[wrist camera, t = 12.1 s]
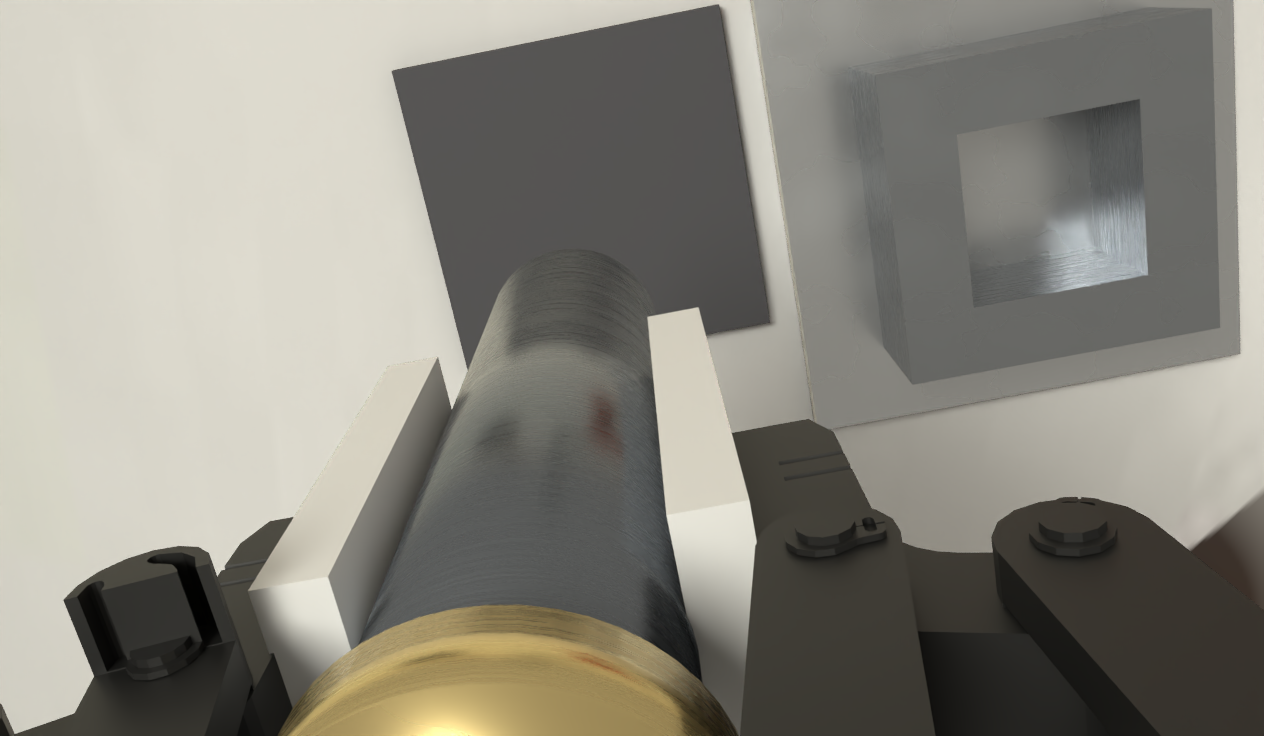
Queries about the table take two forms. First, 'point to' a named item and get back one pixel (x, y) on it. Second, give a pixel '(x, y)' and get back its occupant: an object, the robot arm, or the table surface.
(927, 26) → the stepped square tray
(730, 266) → the mat
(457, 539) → the gold capped cylinder
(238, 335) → the table surface
